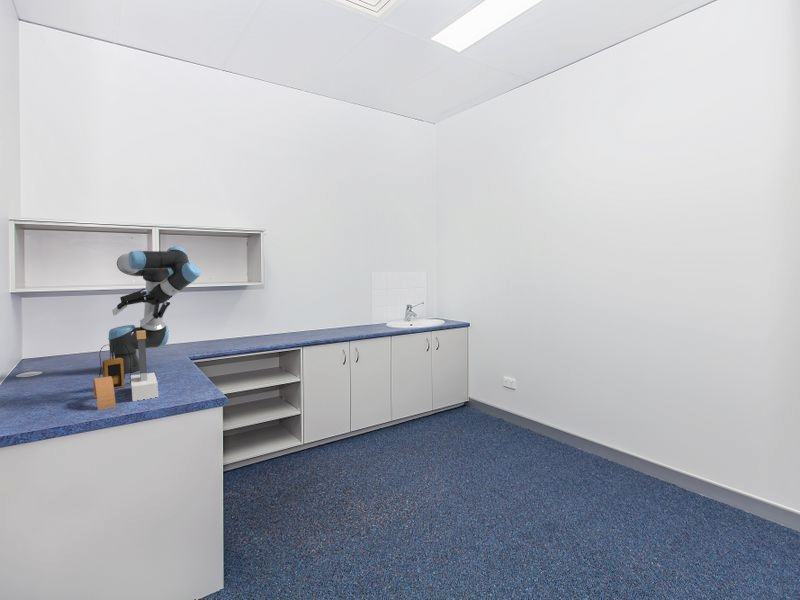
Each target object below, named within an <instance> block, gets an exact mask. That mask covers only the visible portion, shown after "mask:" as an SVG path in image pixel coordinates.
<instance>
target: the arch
mask: <svg viewBox="0 0 800 600" xmlns="http://www.w3.org/2000/svg"><path fill="white" fill-rule="evenodd" d="M93 398H94V399H96V403H97V404H96V405H97V411H98V410H104V409H105V410H106V409H110V408H111V409H112V408H116V406H117V405H116V396H115V389H114V386H113V380H112V377H111V376H109V377H103V376H102V377H96V378H93Z"/></svg>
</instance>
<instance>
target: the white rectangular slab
mask: <svg viewBox="0 0 800 600" xmlns="http://www.w3.org/2000/svg"><path fill="white" fill-rule="evenodd" d="M130 386H131V399H132V402H138V401H137V400H139V401H143V399H145V400H151V399H150V398H152V399H156V398H155V397H158V398H159V384H158V379H157V376H156V374H155V372H149V373H148V372H147V373H142V374H140V373H139V374H131V384H130Z"/></svg>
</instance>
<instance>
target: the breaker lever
mask: <svg viewBox="0 0 800 600" xmlns="http://www.w3.org/2000/svg"><path fill="white" fill-rule="evenodd" d="M136 333H137V339H138V349H137V350H138V359H139V368H140V370H139V374H142V373H148V367H147V352H146V351H147V350H146V349H147V348H146V347H145V339H146V331H145V330H143V331H136Z"/></svg>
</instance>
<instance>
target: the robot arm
mask: <svg viewBox="0 0 800 600" xmlns="http://www.w3.org/2000/svg"><path fill="white" fill-rule="evenodd" d="M116 267H117V269H118V270H119V271H120V272H121V273H123V274H125V275H128V276H133V277H142V279H143V280H144V281H145V287H144V288H141V289H140V290H137V291H135V292H132V293H129V294H125V295H123V296H120V297H119V299H120V303H118V304H117V305H116V307H115V308H114V309H112V310H111V311H112V315H113V316H117V315H118V314H119V313H121V312H122V311H124V310H125V309H126V308H127V307H128V306H129V305H134V304H135V305H136V304H140V303H144V309H143V310H144V311H143V312H144V314H143V318H141V319H140V320H139V322H140V323H139V324H140V326H137V327H136V326H135V325H134V324H128V325H127V324H126V325H121V326H117V327H116V326H115V327H113V328H111V329H110V330H109V331H108V338H107V339H108V346H109V345H110V346H111V351H110V350H109V359H111V358H110V356H111V354H110V353H112V359H113V347H114V346H115V345H116V344H118V345H116V346H115V347H114V356H115V359H116V358H122V359H123V364H124V367H125V374H130V358H131V373H134V372H138V371H140V368H139V356H138V355H137V350H138V339H137V333H136V331H143V330H145V331H146V339H145V347H146V349H151V348H158V347H159V348H160V347H164V346H166V345H167V343H168V340H169V331H170V330H169V327H168V325H166V323H165V321H163V320H164V319H163V316H164V314H165V312H166V311H167V309H168V307H169V306H170V305H171V301H170V299H171V298H173V296H176V295H177V294H179V292H181V291H182V290H183V289H184V288H186V287H188V286H190V284H192V283H194V282H195V281H196V280H197V279H198V278H199V277H200V276H201V271H200V269H199V268H198V266H197V265H196V264H194V263H193V262H190V260H189V257H188V255H187V252H186V250H185V249H184V248H183V247H181V246H178V245H177V246H175V245H174V246H173V247H169V248H168V249H167V250H166V251H164V250H161V251H158V250H157V251H156V250H150V251H149V250H131V251H129V252H128V253H124V254H122V255H120V256H119V257H118V258H117V261H116ZM119 343H122V344H119ZM124 344H125V345H126V346H127V347H126V346H125V345H124ZM110 346H109V347H108V348H109V349H110ZM127 348H128V349H127ZM128 350H129V352H128ZM129 353H130V356H129Z"/></svg>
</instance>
